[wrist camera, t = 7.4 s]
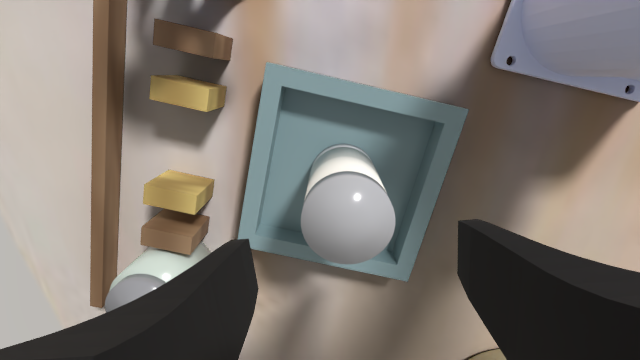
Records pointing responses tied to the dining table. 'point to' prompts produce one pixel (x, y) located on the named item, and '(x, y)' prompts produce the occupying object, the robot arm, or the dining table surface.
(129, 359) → the robot arm
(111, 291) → the cylinder
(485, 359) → the planter bowl
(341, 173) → the cylinder
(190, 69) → the dining table surface
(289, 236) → the tray
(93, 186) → the clip rack
